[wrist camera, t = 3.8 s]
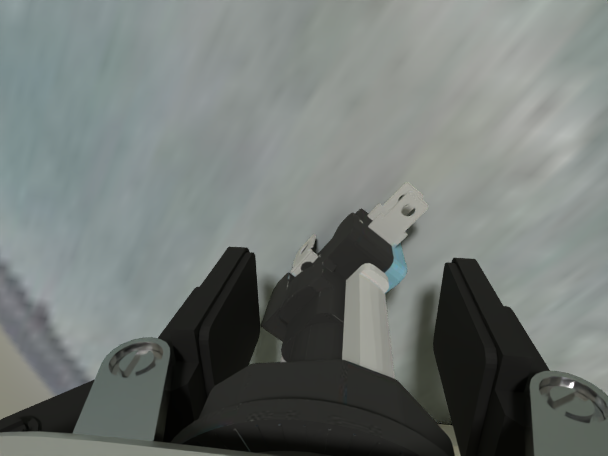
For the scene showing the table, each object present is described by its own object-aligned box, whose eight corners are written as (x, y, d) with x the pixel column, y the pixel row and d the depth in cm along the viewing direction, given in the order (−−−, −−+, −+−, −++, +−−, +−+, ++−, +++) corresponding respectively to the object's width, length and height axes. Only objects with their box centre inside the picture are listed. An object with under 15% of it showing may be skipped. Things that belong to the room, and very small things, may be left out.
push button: (353, 133, 12) (341, 342, 3) (473, 233, 13) (744, 634, 4) (239, 269, 15) (49, 604, 6) (346, 346, 16) (329, 747, 6)
